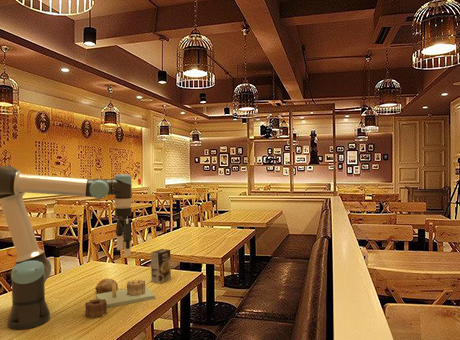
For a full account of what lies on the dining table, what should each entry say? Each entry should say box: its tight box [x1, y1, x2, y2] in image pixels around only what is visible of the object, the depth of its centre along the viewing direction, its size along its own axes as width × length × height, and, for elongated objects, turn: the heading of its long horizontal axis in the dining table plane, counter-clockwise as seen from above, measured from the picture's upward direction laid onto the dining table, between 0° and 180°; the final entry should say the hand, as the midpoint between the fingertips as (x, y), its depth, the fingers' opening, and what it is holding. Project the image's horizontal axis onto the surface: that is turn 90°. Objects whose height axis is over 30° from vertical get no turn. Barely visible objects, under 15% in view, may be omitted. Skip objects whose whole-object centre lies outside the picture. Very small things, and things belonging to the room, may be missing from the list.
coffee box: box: [150, 248, 172, 284], centre depth 203 cm, size 9×6×16 cm
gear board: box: [95, 279, 156, 309], centre depth 178 cm, size 24×16×8 cm, turn 118°
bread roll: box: [94, 278, 119, 294], centre depth 188 cm, size 10×10×8 cm
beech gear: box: [126, 279, 146, 296], centre depth 180 cm, size 8×8×5 cm
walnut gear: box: [84, 298, 108, 319], centre depth 159 cm, size 8×8×5 cm
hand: (123, 252), depth 176 cm, fingers open, 13 cm apart
